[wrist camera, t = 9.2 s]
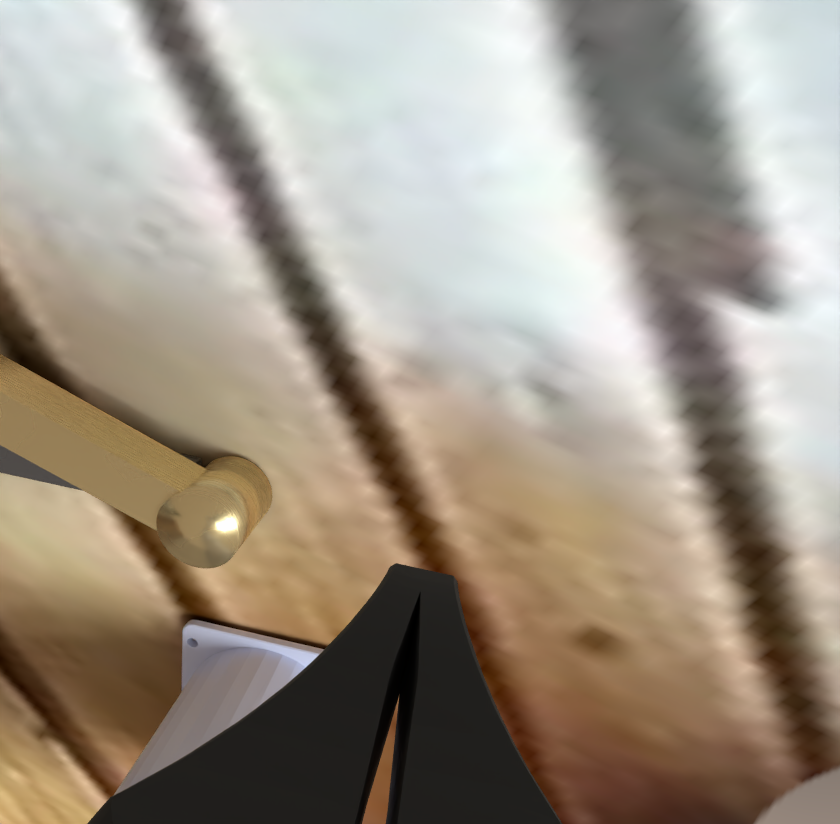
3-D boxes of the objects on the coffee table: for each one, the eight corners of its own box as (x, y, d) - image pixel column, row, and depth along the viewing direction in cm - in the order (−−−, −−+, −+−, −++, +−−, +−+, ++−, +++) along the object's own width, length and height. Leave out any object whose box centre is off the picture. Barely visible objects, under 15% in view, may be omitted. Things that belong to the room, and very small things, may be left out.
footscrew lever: (283, 480, 21) (251, 521, 19) (254, 535, 22) (219, 582, 20) (-54, 290, 20) (-144, 302, 18) (-68, 357, 22) (-155, 378, 19)
